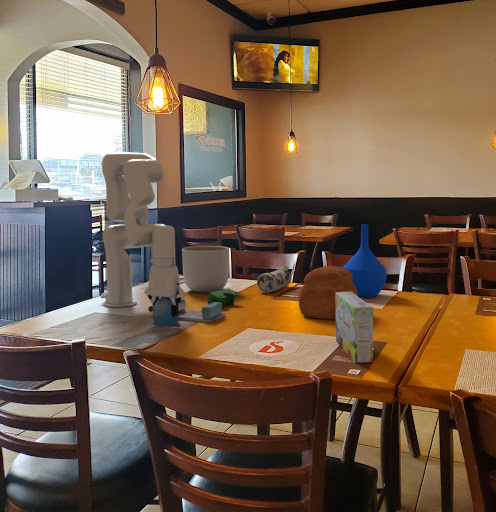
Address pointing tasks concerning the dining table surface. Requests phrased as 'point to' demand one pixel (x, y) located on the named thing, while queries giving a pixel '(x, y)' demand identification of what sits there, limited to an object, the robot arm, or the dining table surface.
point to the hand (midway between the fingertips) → (165, 314)
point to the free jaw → (180, 306)
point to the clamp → (223, 297)
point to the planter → (205, 268)
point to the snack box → (354, 326)
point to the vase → (366, 269)
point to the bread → (324, 291)
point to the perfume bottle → (163, 312)
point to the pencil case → (274, 280)
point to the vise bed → (197, 316)
